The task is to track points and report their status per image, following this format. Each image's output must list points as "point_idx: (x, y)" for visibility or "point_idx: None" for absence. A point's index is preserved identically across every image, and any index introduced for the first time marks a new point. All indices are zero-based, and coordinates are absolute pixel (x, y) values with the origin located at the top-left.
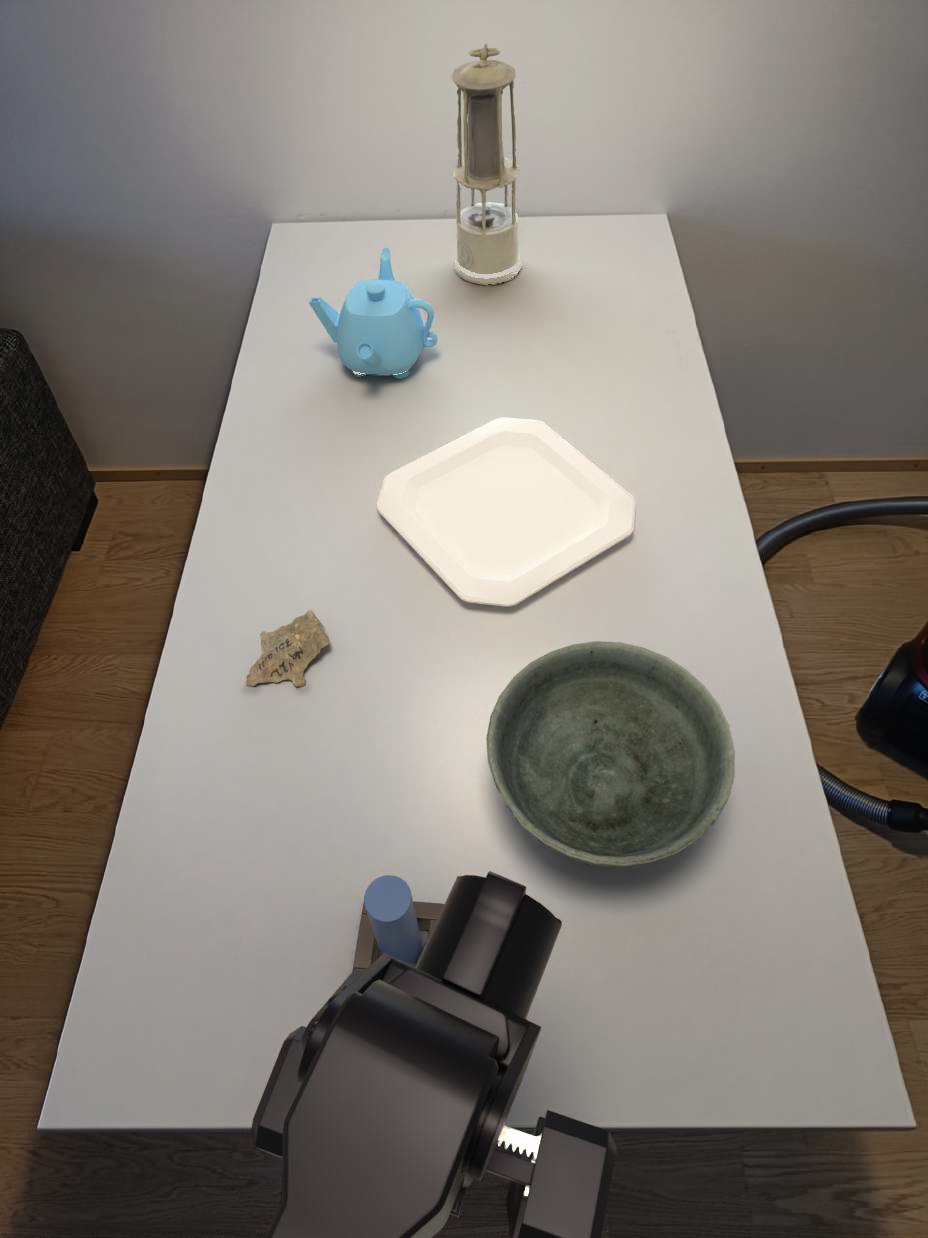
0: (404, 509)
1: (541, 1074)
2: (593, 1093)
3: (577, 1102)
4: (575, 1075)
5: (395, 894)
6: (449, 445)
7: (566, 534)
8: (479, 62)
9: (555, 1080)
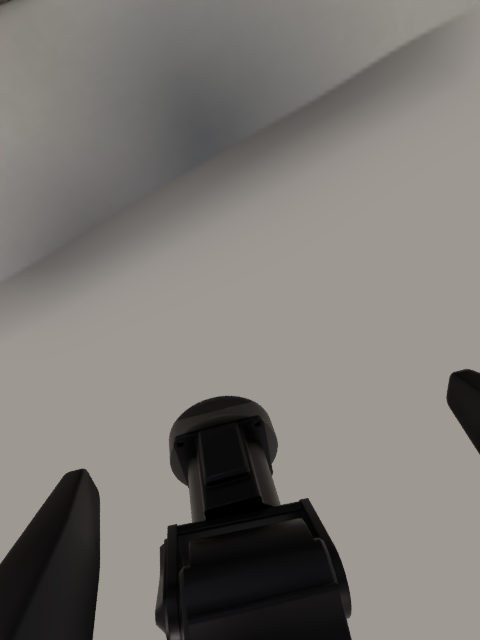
0: None
1: (279, 34)
2: (370, 22)
3: (348, 52)
4: (335, 4)
5: None
6: None
7: None
8: None
9: (305, 33)
